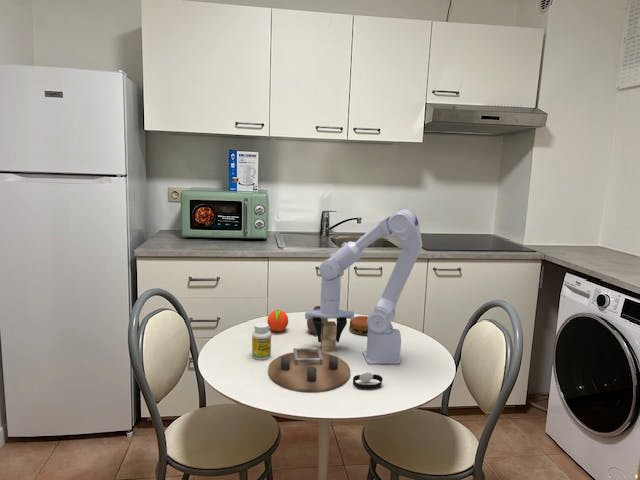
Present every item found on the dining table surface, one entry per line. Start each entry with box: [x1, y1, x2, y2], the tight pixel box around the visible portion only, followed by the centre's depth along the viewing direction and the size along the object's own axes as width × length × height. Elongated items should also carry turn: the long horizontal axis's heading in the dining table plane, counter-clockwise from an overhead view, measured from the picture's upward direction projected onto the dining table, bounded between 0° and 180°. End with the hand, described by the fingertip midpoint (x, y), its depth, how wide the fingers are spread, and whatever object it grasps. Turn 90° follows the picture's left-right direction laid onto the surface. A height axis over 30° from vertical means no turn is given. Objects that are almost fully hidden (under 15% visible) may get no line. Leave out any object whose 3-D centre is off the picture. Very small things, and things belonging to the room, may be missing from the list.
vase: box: [306, 305, 329, 335], centre depth 153 cm, size 7×7×9 cm
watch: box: [352, 371, 384, 391], centre depth 119 cm, size 8×5×4 cm, turn 99°
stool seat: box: [267, 347, 351, 393], centre depth 126 cm, size 22×22×4 cm
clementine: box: [266, 309, 289, 332], centre depth 153 cm, size 8×7×7 cm
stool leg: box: [320, 320, 337, 353], centre depth 141 cm, size 4×4×8 cm
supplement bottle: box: [251, 321, 272, 361], centre depth 133 cm, size 5×5×10 cm
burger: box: [348, 315, 368, 336], centre depth 156 cm, size 10×9×5 cm
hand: (328, 341), depth 141 cm, fingers open, 5 cm apart
